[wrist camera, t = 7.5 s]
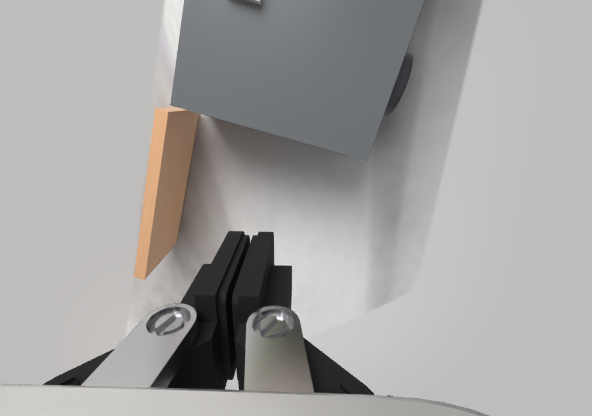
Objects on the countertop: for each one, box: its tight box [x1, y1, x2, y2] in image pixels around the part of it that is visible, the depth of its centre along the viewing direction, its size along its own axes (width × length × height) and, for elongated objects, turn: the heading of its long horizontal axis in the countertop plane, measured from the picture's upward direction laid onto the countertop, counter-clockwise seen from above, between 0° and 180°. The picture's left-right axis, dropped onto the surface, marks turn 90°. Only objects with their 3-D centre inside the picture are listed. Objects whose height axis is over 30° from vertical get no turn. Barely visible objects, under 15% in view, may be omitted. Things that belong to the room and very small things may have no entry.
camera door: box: [134, 107, 199, 280], centre depth 30 cm, size 2×16×8 cm, turn 164°
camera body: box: [171, 0, 424, 161], centre depth 26 cm, size 13×17×10 cm
